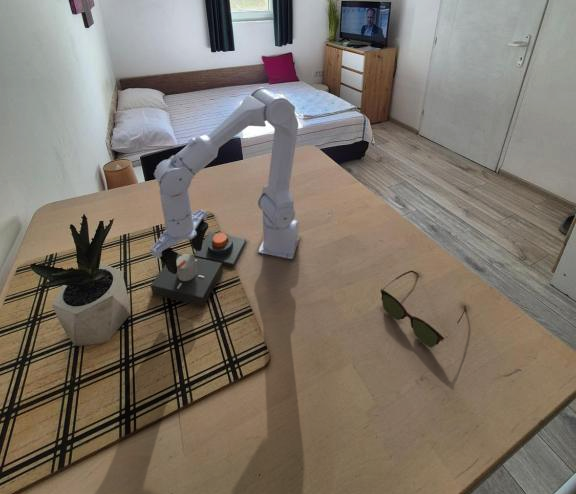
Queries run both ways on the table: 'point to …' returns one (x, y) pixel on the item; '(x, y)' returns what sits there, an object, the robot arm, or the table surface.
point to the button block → (221, 250)
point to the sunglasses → (412, 318)
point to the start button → (219, 240)
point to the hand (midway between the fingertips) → (185, 259)
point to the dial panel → (189, 283)
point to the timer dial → (186, 267)
